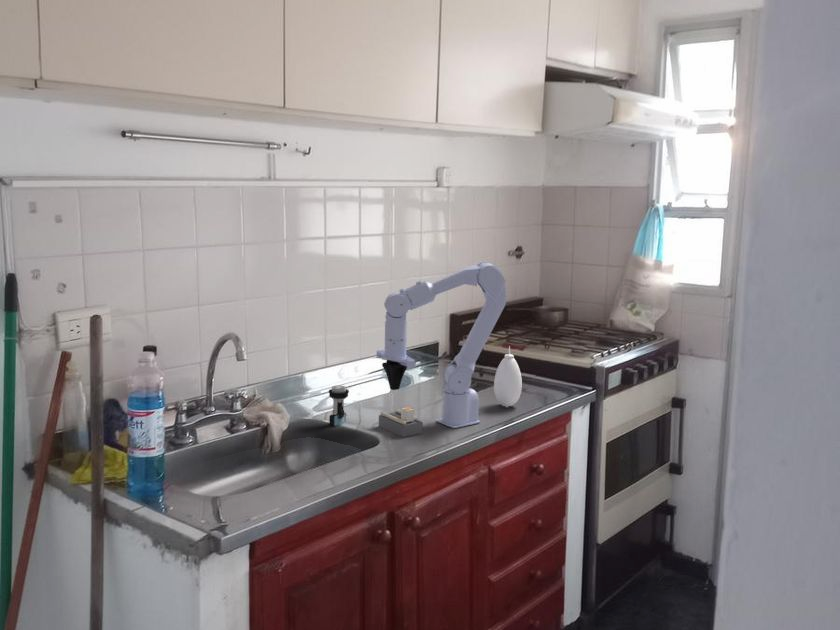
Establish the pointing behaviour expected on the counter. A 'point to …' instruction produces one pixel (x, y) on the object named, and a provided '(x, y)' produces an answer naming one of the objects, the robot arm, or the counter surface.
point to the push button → (338, 405)
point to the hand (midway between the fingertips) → (394, 389)
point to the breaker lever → (407, 414)
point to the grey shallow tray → (400, 424)
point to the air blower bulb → (508, 381)
